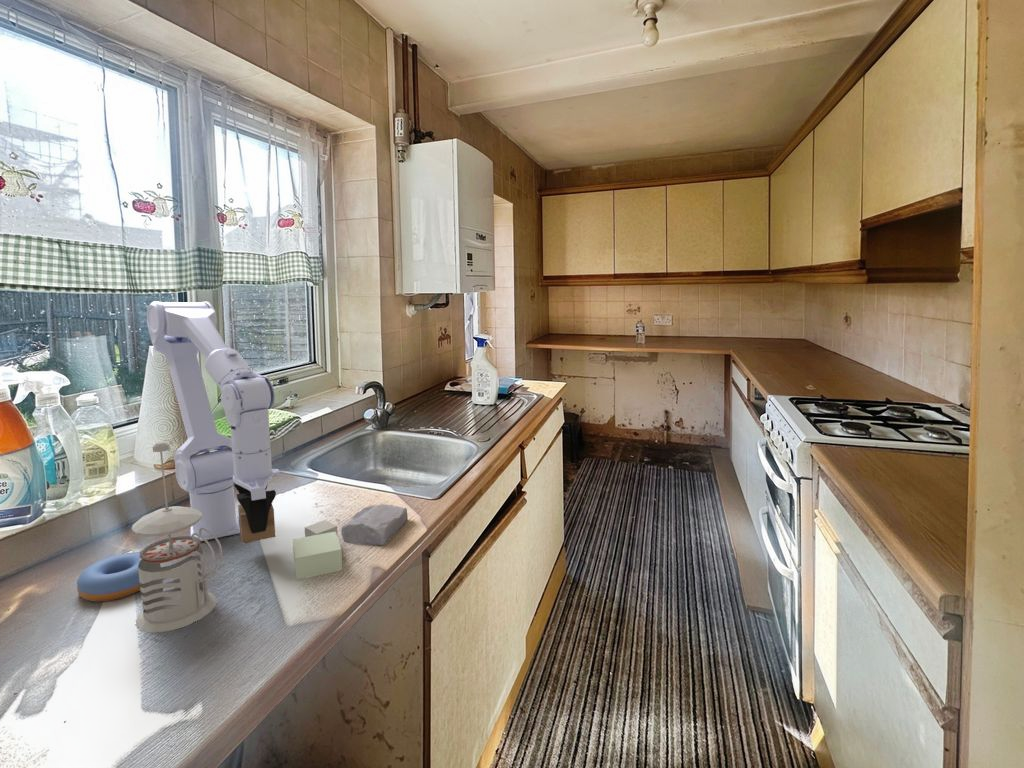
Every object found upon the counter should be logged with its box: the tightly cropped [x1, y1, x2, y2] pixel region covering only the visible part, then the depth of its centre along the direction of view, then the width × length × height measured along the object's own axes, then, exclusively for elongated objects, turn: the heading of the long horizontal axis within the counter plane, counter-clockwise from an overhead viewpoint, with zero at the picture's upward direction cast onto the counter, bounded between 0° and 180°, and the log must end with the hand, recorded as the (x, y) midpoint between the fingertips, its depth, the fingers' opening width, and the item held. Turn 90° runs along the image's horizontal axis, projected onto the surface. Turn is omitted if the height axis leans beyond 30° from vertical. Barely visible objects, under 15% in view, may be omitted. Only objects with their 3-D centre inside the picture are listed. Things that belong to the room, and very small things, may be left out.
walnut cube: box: [237, 503, 276, 545], centre depth 86 cm, size 5×5×5 cm
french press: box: [131, 441, 223, 633], centre depth 70 cm, size 10×12×25 cm
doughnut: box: [76, 551, 142, 602], centre depth 77 cm, size 10×10×5 cm
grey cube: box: [304, 519, 339, 539], centre depth 90 cm, size 4×4×4 cm
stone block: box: [340, 503, 408, 546], centre depth 97 cm, size 12×5×10 cm
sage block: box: [292, 532, 343, 581], centre depth 84 cm, size 7×7×4 cm
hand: (256, 525), depth 86 cm, fingers closed on walnut cube, 5 cm apart
